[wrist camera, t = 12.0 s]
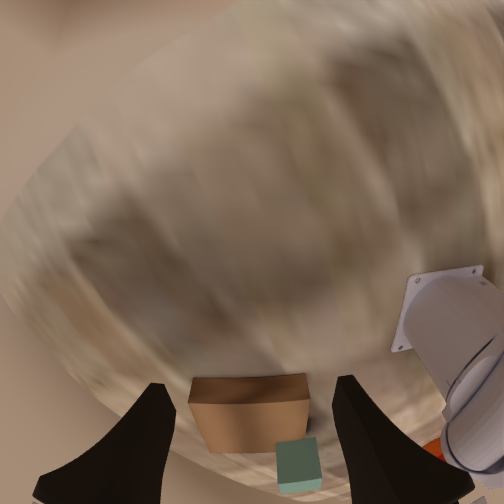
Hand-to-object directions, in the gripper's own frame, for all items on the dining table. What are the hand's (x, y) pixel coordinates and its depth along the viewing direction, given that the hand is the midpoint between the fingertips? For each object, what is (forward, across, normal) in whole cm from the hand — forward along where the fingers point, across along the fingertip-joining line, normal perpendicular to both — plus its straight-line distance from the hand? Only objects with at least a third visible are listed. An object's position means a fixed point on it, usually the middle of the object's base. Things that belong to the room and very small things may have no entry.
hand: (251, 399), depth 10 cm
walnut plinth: (+9, +1, +14) cm, 17 cm away
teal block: (+6, -3, +18) cm, 20 cm away
